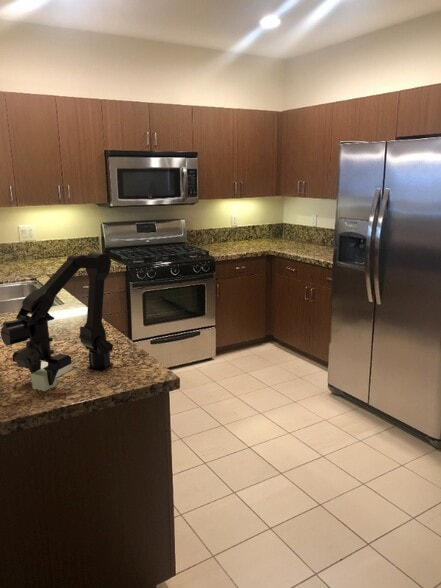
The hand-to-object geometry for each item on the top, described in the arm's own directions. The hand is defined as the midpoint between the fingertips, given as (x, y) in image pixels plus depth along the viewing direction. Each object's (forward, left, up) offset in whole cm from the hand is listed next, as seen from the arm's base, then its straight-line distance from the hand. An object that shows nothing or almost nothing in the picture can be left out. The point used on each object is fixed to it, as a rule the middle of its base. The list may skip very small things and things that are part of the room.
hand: (44, 383), depth 148 cm
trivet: (+6, -10, -1) cm, 12 cm away
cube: (0, 0, -1) cm, 1 cm away
